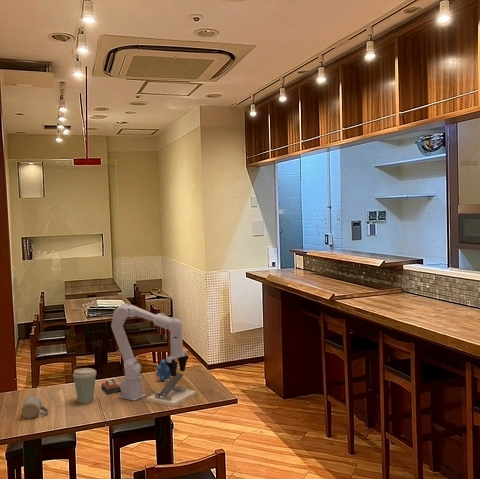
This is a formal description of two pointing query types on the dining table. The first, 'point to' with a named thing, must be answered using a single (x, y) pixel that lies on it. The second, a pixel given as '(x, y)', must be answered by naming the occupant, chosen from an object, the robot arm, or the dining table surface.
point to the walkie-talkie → (111, 386)
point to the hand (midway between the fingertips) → (178, 373)
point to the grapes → (163, 370)
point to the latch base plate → (173, 396)
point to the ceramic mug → (33, 407)
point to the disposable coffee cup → (84, 384)
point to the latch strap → (170, 384)
